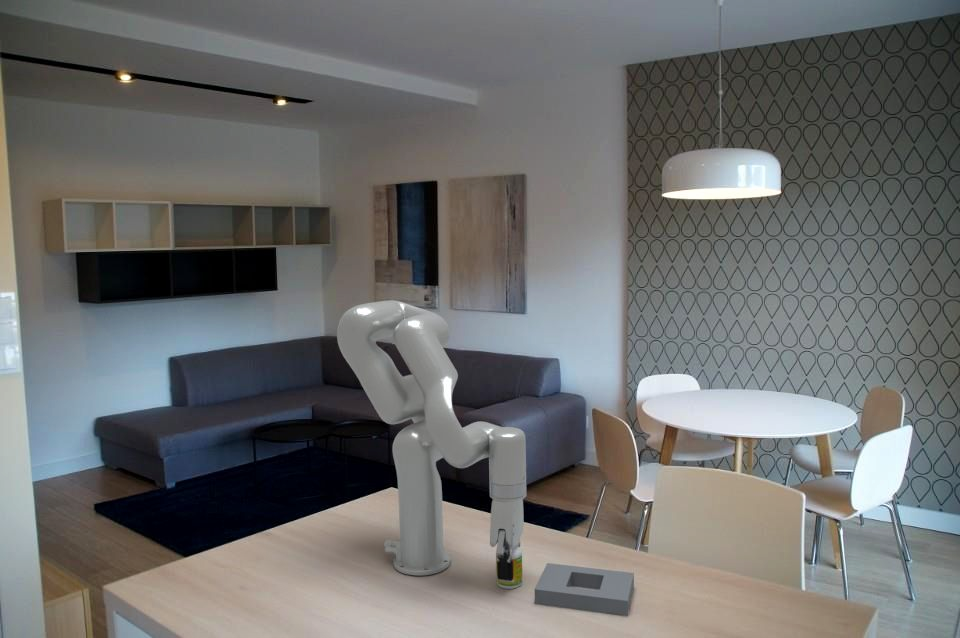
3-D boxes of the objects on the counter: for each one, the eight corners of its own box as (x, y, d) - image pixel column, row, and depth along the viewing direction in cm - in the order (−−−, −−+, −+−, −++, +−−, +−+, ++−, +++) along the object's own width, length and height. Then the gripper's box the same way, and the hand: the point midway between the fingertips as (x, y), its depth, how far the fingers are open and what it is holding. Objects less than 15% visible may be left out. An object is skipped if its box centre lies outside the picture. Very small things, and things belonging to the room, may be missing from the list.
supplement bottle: (520, 590, 152) (519, 544, 150) (494, 588, 153) (493, 543, 152) (524, 578, 157) (523, 534, 156) (498, 576, 158) (498, 532, 157)
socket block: (534, 603, 146) (534, 589, 146) (547, 576, 157) (547, 562, 157) (627, 615, 141) (627, 600, 140) (633, 586, 152) (633, 572, 152)
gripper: (501, 473, 162) (502, 553, 164) (478, 501, 145) (479, 589, 147) (535, 476, 159) (536, 557, 161) (515, 504, 143) (516, 594, 145)
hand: (509, 571), depth 154 cm, fingers closed on supplement bottle, 5 cm apart
